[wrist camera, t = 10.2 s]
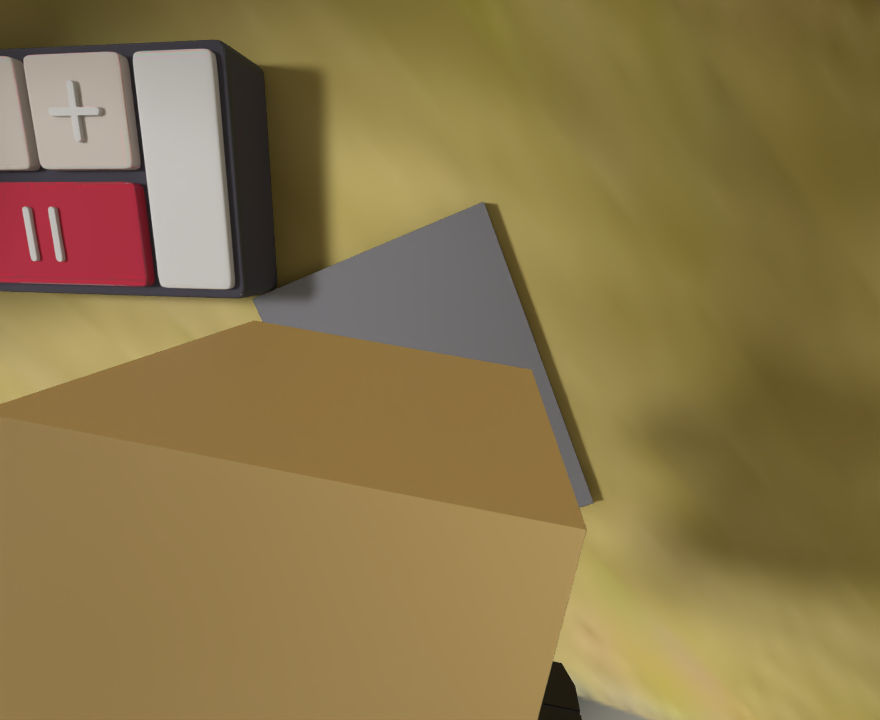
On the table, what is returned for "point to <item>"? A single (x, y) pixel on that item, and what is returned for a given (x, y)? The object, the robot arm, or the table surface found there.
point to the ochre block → (283, 536)
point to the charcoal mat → (429, 305)
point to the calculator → (135, 171)
